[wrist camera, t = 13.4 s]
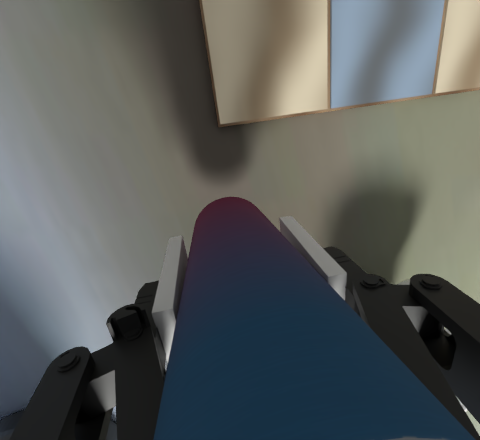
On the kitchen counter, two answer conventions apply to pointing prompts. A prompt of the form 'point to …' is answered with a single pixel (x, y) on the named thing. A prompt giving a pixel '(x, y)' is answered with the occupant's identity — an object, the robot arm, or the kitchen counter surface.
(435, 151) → the kitchen counter surface
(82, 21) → the kitchen counter surface
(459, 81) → the multicoloured flat piece
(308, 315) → the cup
